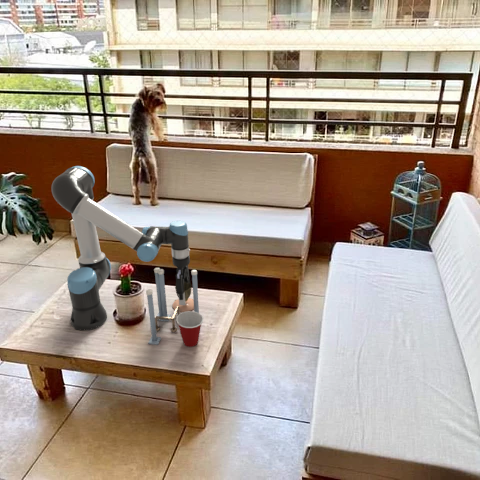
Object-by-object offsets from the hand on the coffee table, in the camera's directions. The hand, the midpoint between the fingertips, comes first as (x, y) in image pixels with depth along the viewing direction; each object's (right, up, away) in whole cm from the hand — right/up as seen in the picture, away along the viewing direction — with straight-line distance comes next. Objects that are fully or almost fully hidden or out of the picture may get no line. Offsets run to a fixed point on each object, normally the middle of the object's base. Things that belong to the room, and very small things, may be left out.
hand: (184, 299), depth 204 cm
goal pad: (0, -3, +1) cm, 3 cm away
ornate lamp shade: (0, 0, 0) cm, 0 cm away
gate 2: (-1, -7, -8) cm, 10 cm away
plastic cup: (+6, -14, -23) cm, 28 cm away
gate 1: (-8, -11, -15) cm, 20 cm away
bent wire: (-6, -9, -11) cm, 16 cm away
